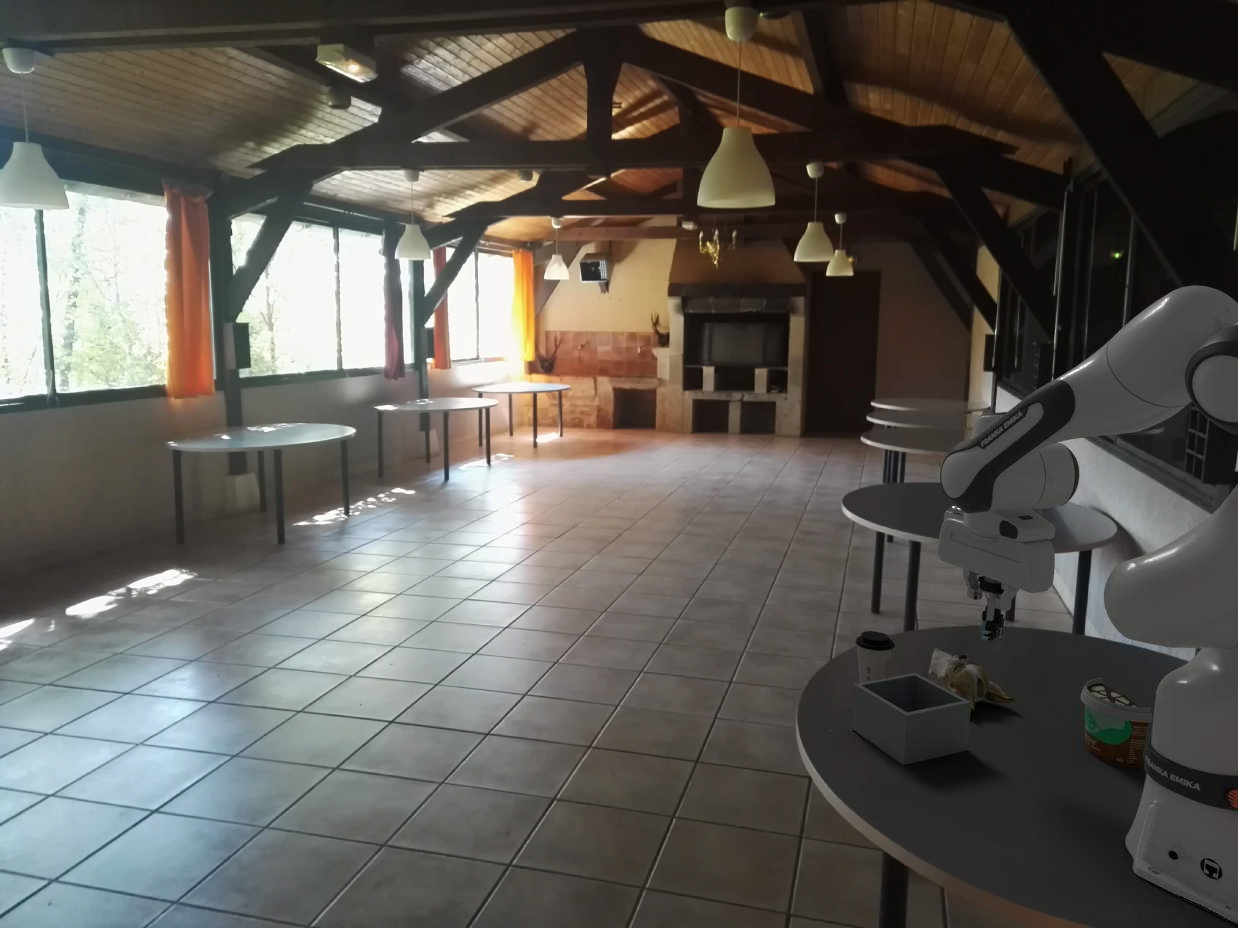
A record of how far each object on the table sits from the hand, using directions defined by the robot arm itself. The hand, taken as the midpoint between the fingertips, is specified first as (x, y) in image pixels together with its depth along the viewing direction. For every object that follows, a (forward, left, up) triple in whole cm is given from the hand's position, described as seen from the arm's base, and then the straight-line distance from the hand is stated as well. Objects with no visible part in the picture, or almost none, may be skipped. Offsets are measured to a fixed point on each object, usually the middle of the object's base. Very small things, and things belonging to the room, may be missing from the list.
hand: (988, 603), depth 135 cm
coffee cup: (+25, +1, -24) cm, 34 cm away
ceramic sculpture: (+14, -10, -24) cm, 30 cm away
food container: (-9, -16, -24) cm, 30 cm away
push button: (0, 0, -6) cm, 6 cm away
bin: (+6, +9, -24) cm, 26 cm away
